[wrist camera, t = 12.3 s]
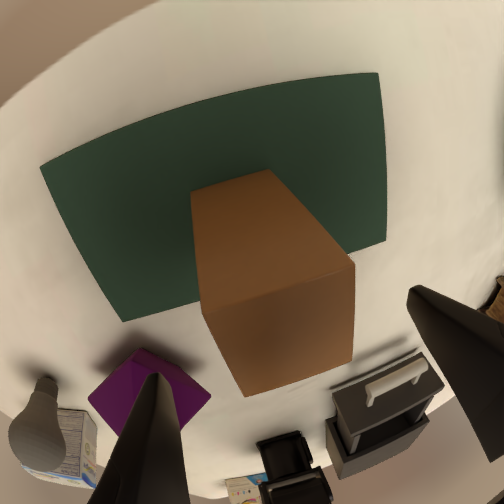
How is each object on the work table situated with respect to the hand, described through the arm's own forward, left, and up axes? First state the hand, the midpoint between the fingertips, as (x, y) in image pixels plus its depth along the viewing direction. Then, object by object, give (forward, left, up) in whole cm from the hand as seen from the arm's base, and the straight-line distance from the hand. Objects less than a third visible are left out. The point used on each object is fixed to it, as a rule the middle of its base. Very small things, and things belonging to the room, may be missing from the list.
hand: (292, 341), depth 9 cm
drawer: (+11, -28, -9) cm, 32 cm away
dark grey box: (+11, -41, -10) cm, 44 cm away
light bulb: (-22, -10, -10) cm, 26 cm away
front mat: (0, +1, -10) cm, 10 cm away
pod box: (0, 0, -10) cm, 10 cm away
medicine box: (-26, -17, -10) cm, 33 cm away
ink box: (-13, -57, -10) cm, 59 cm away
